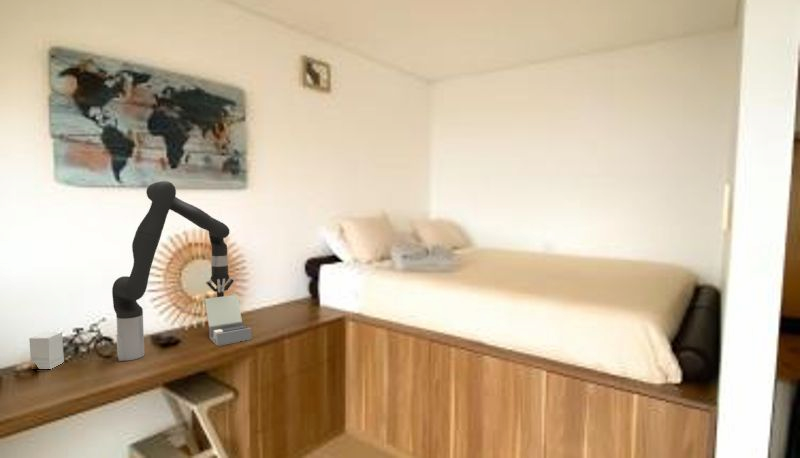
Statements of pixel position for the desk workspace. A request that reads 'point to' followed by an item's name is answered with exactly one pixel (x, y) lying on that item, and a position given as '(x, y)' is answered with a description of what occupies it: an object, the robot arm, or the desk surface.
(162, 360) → the desk surface
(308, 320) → the desk surface
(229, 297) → the panel
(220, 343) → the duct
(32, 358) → the supplement box
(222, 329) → the gray white block
